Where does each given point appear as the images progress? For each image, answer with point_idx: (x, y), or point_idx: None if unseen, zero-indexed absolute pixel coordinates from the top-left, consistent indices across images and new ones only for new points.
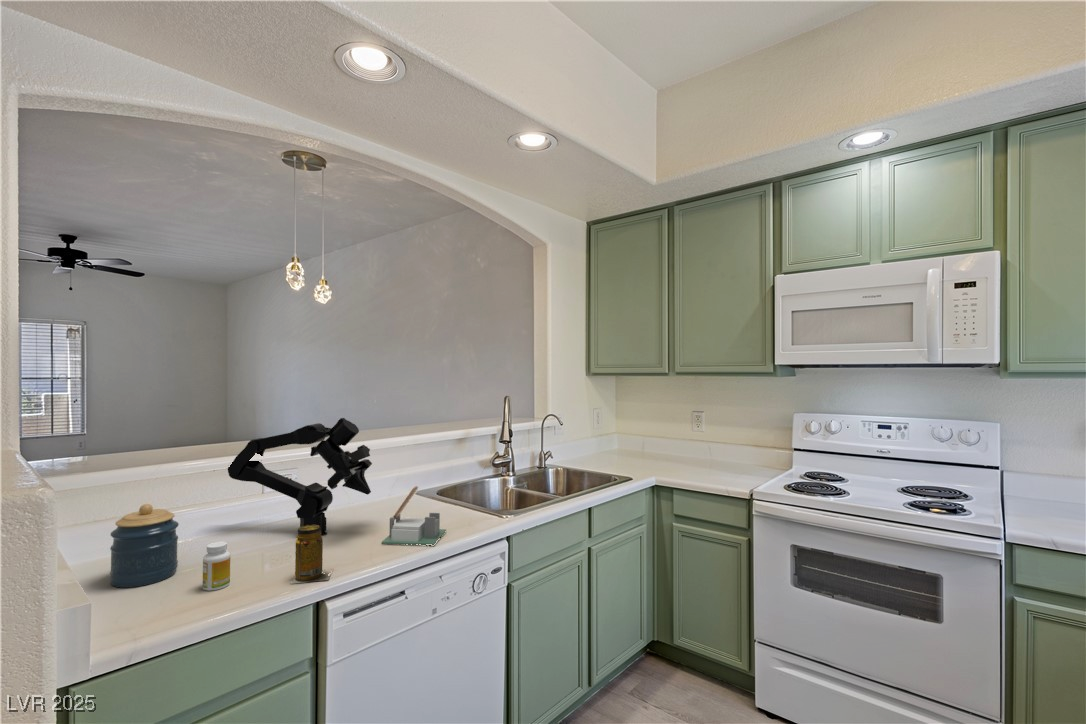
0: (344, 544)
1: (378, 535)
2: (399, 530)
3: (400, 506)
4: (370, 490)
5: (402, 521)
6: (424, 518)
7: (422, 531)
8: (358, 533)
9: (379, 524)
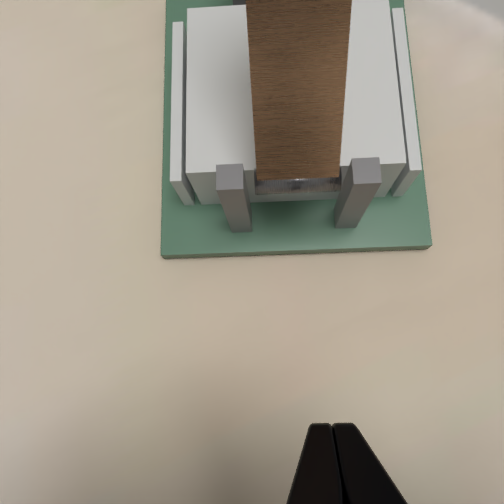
0: (471, 487)
1: (269, 340)
2: (414, 120)
3: (346, 64)
4: (311, 436)
5: None
6: (201, 29)
7: None
8: (247, 498)
9: (46, 435)
